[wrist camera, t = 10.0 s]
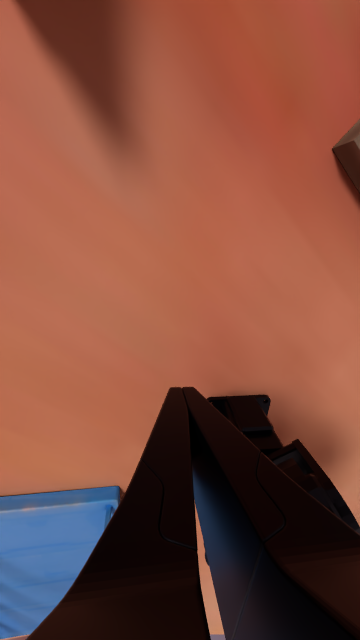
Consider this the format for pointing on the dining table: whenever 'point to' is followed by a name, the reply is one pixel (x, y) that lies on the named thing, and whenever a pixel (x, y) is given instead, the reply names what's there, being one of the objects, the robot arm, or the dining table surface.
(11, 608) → the file sorter
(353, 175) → the plank
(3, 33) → the dining table surface
